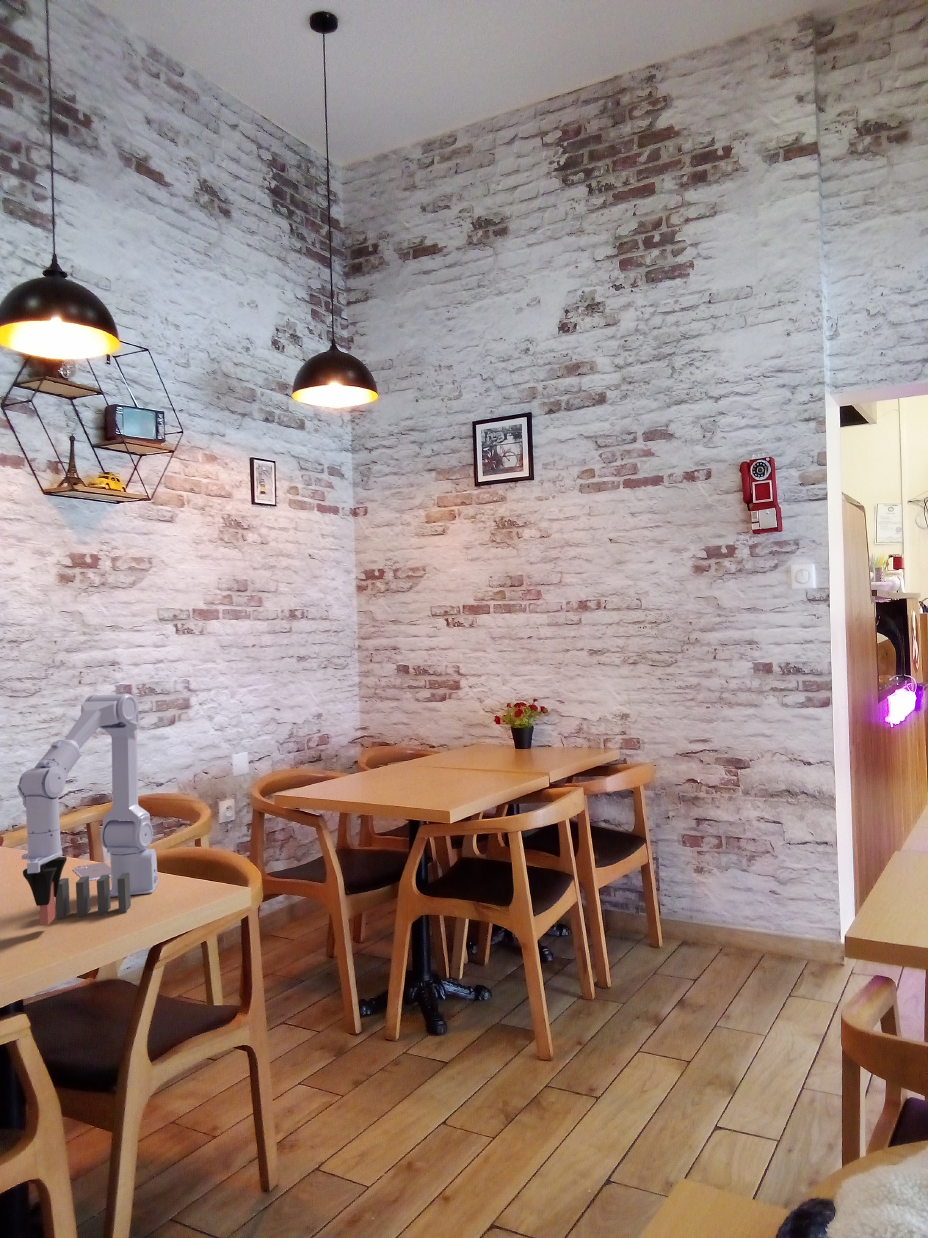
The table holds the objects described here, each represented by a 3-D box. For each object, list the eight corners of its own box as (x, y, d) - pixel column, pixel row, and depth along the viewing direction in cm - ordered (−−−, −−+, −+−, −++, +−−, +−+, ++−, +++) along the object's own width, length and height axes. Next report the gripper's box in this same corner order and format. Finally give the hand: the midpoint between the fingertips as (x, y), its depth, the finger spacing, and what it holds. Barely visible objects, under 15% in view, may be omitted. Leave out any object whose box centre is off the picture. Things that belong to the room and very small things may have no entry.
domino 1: (70, 912, 182) (68, 878, 182) (63, 919, 178) (62, 884, 178) (62, 912, 182) (61, 878, 182) (56, 919, 177) (54, 884, 178)
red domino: (55, 917, 172) (53, 881, 172) (48, 925, 168) (46, 888, 168) (47, 918, 172) (46, 882, 172) (40, 925, 168) (38, 889, 168)
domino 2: (90, 910, 183) (88, 876, 183) (84, 917, 178) (83, 882, 178) (83, 910, 183) (81, 876, 183) (77, 917, 178) (75, 882, 178)
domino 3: (110, 908, 183) (109, 874, 183) (105, 915, 179) (103, 880, 179) (103, 908, 183) (102, 875, 183) (98, 915, 179) (96, 881, 179)
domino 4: (130, 906, 184) (129, 872, 184) (126, 913, 180) (124, 878, 180) (123, 907, 184) (122, 873, 184) (118, 913, 179) (117, 879, 179)
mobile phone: (85, 879, 205) (72, 866, 217) (85, 883, 205) (72, 870, 217) (119, 873, 209) (104, 861, 221) (119, 877, 209) (104, 864, 221)
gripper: (33, 824, 177) (36, 892, 177) (8, 841, 162) (11, 915, 162) (71, 821, 178) (74, 888, 178) (48, 837, 163) (52, 911, 163)
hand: (46, 901), depth 170 cm, fingers closed on red domino, 4 cm apart
